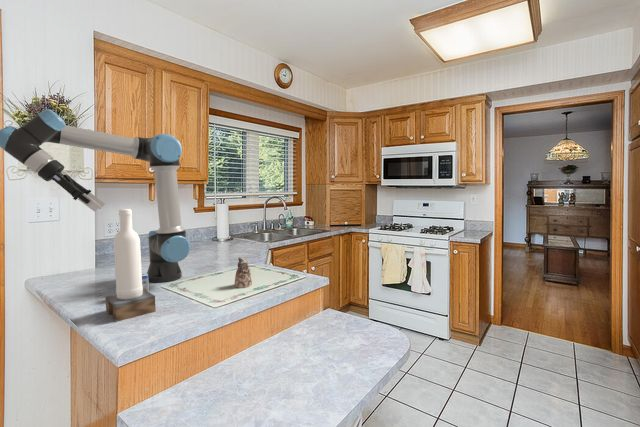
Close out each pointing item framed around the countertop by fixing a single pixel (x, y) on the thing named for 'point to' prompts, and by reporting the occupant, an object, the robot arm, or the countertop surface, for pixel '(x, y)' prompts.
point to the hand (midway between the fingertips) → (100, 207)
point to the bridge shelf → (130, 306)
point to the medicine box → (145, 282)
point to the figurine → (243, 274)
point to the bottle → (127, 259)
